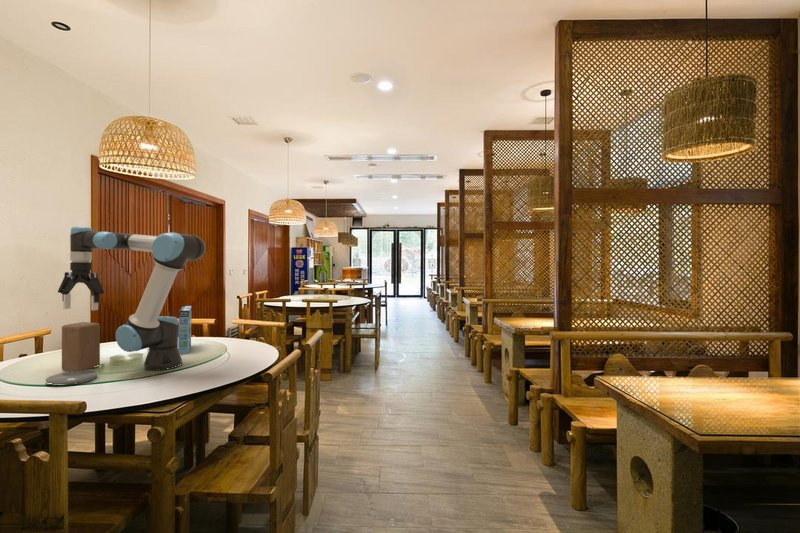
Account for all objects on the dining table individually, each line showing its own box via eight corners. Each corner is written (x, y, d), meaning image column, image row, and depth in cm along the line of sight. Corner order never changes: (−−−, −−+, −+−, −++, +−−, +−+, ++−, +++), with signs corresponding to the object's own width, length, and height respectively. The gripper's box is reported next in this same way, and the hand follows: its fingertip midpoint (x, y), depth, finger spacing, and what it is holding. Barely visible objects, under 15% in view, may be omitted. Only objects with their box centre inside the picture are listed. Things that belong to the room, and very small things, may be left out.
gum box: (181, 346, 223) (181, 306, 223) (191, 346, 225) (192, 305, 225) (177, 354, 205) (178, 310, 205) (188, 354, 207) (189, 310, 207)
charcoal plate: (107, 376, 168) (107, 371, 168) (71, 388, 152) (71, 383, 152) (72, 374, 169) (72, 369, 169) (34, 386, 153) (34, 380, 153)
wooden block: (79, 372, 172) (79, 326, 171) (60, 370, 174) (60, 325, 173) (100, 366, 182) (101, 322, 181) (82, 364, 184) (83, 321, 183)
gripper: (113, 262, 179) (113, 309, 180) (63, 260, 182) (63, 307, 182) (99, 262, 172) (99, 311, 172) (47, 261, 174) (47, 309, 175)
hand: (80, 309), depth 177 cm, fingers open, 13 cm apart
